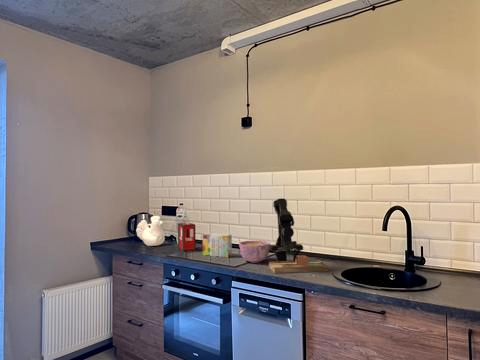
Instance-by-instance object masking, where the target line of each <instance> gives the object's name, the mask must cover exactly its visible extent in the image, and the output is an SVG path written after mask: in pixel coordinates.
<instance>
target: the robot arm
mask: <svg viewBox="0 0 480 360" xmlns="http://www.w3.org/2000/svg"><path fill="white" fill-rule="evenodd" d="M272 206H273V208H274V211H275V213H276V215H277V230H278V231H277V232H278V237H277V238H276V242H275V244H270V246H269V251H271V252H272V253H274V255H275V257H276V262H278V263H279V261H289V260H288V253H290V252H291V251H293V254H292V258H293V259H292V261H293V262H295V260H296V257H297V256H298V254H299V253H301V252H302V251H304V246H303V244H301V243H297V241H296V240H292V237H293V236H294V234H295V233H294V232H295V231H294V229H293V228H292V227H294V225H295V220H294V217H293V215H292V213H291V212H290V210H288V200H287V199H286V198H277V199H275V200H274V201H273V204H272Z"/></svg>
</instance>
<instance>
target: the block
mask: <svg viewBox="0 0 480 360" xmlns="http://www.w3.org/2000/svg"><path fill="white" fill-rule="evenodd" d="M308 260H309V256H307V255H297V257H296V260H295V262H296V264H298V265H309V262H308Z"/></svg>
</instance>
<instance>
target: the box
mask: <svg viewBox="0 0 480 360" xmlns="http://www.w3.org/2000/svg"><path fill="white" fill-rule="evenodd" d="M308 262H309V265H298V264H296V262H293V260H288V261H279V263H278V261H268V267H269V268H270V270H271V271H272V272H273V273H274V274H285V273H286V274H289V273H291V274H292V273H312V272H329V265H328V264H326V263H324V262H323V261H322V260H320V259H312V260H311V259H308Z"/></svg>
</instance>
